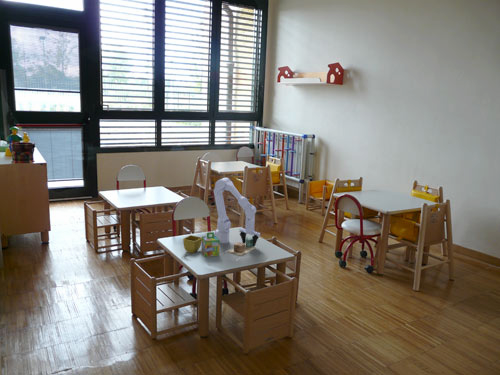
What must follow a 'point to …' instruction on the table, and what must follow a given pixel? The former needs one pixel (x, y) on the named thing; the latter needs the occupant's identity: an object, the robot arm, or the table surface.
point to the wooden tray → (248, 247)
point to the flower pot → (192, 243)
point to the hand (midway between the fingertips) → (249, 244)
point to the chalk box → (210, 245)
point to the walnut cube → (239, 247)
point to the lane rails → (240, 257)
